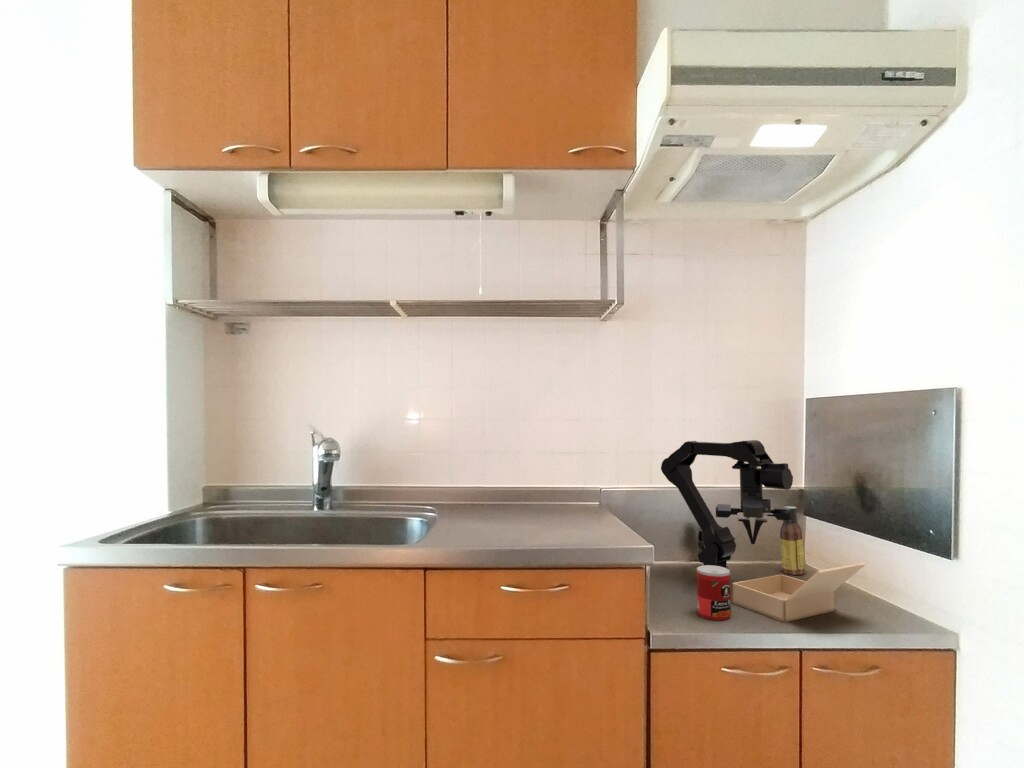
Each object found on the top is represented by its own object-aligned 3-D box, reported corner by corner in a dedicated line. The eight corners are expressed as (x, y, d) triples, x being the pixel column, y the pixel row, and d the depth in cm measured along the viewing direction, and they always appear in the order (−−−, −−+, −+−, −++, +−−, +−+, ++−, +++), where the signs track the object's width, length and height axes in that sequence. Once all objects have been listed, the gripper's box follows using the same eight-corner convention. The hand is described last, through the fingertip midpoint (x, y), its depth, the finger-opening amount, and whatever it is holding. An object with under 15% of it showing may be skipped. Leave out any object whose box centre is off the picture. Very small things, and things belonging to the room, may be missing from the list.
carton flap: (818, 570, 133) (819, 572, 133) (864, 562, 140) (866, 564, 140) (786, 598, 140) (788, 600, 140) (832, 589, 147) (834, 591, 147)
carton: (732, 602, 154) (731, 583, 154) (781, 592, 162) (781, 574, 162) (784, 622, 140) (783, 600, 140) (836, 610, 147) (835, 589, 148)
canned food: (715, 623, 140) (714, 575, 140) (690, 613, 147) (689, 567, 147) (738, 617, 143) (737, 571, 144) (713, 607, 150) (712, 563, 151)
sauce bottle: (800, 570, 184) (798, 505, 185) (808, 576, 178) (806, 508, 179) (778, 570, 185) (776, 505, 185) (785, 575, 178) (783, 508, 179)
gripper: (714, 489, 159) (716, 548, 158) (791, 491, 153) (793, 553, 152) (715, 484, 170) (716, 539, 169) (787, 486, 164) (789, 543, 163)
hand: (752, 544), depth 163 cm, fingers closed
